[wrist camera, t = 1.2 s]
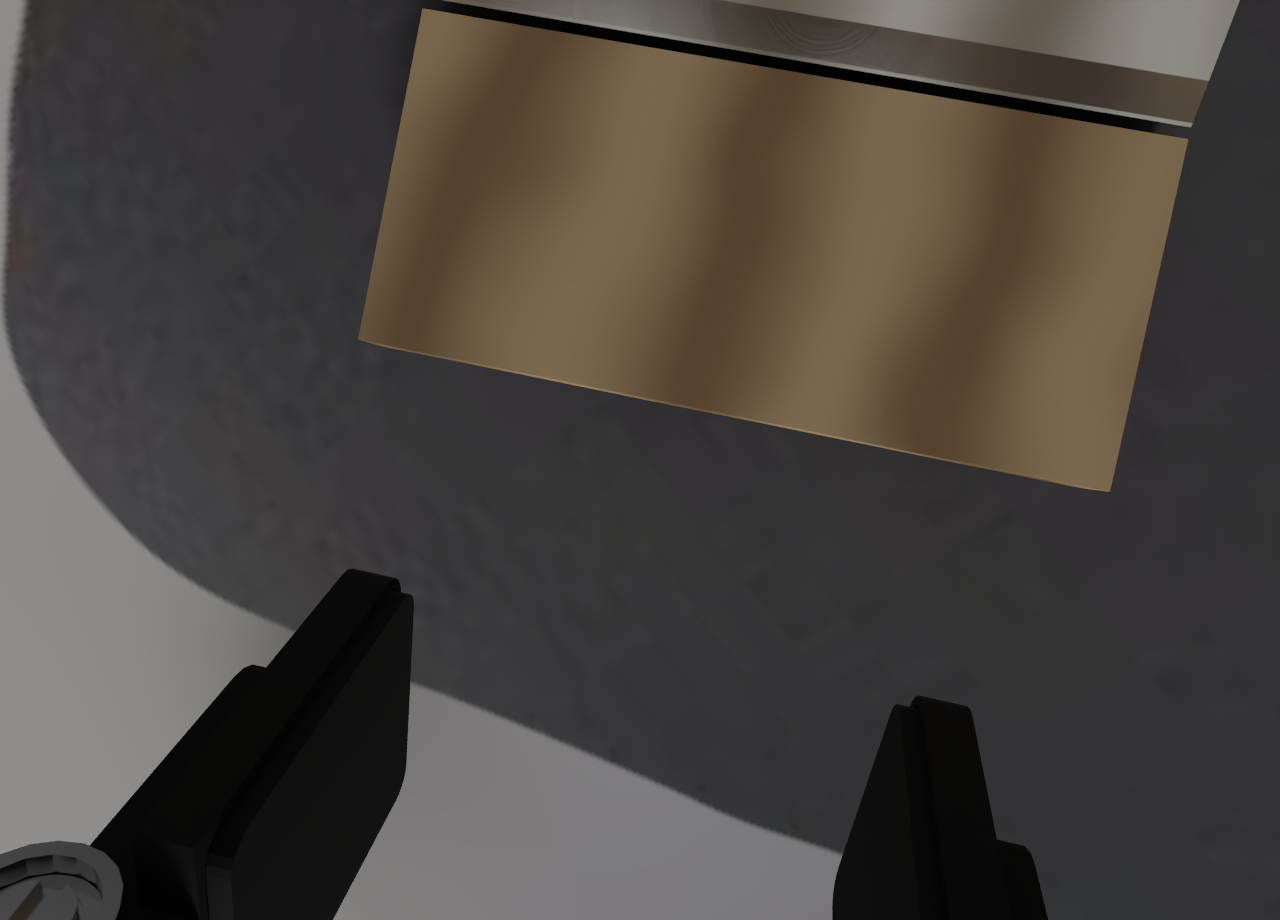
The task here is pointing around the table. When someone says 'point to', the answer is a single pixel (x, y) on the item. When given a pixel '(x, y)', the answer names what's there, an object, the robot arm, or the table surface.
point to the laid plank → (957, 42)
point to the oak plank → (773, 246)
